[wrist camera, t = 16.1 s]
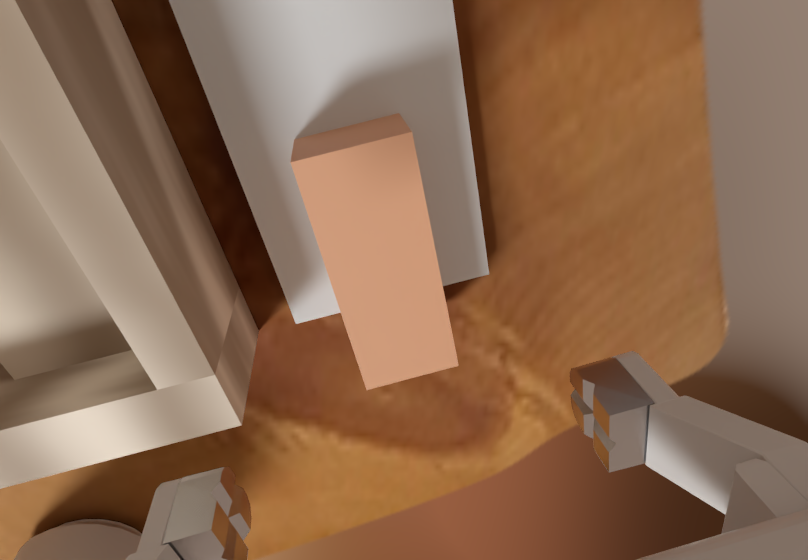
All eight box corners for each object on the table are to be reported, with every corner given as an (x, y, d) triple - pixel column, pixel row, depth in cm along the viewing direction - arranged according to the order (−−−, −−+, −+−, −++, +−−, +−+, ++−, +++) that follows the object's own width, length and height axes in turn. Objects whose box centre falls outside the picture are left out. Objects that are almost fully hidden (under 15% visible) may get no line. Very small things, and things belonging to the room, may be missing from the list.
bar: (294, 139, 18) (290, 162, 16) (398, 113, 18) (412, 131, 16) (361, 346, 23) (366, 390, 21) (443, 325, 24) (458, 365, 21)
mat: (296, 311, 23) (295, 323, 22) (175, -3, 17) (167, -3, 16) (482, 264, 23) (489, 274, 23) (437, -64, 17) (443, -68, 16)
